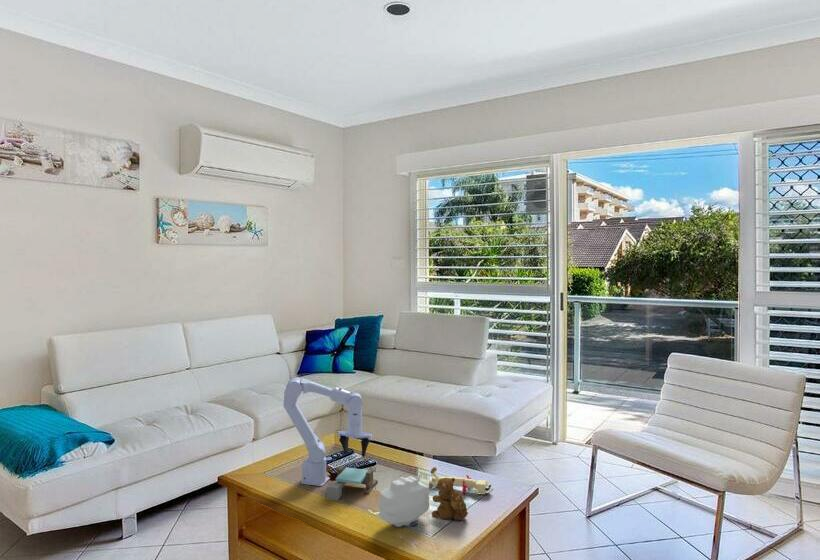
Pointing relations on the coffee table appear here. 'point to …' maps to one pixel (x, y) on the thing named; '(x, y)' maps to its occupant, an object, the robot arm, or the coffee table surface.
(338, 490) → the stone
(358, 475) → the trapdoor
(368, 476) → the trapdoor frame
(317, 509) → the coffee table surface
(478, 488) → the cat figure
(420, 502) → the grey rounded lump
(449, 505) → the stuffed squirrel
